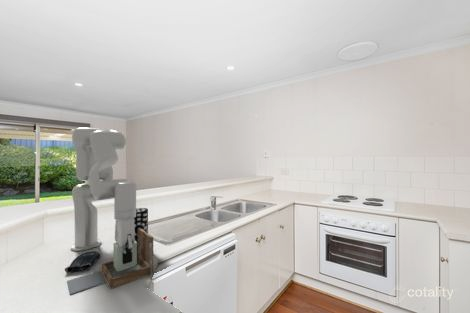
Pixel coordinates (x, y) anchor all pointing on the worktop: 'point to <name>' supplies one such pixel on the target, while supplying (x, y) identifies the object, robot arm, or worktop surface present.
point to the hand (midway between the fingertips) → (125, 259)
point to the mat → (85, 282)
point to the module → (119, 257)
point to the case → (142, 258)
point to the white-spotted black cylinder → (140, 222)
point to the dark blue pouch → (84, 261)
